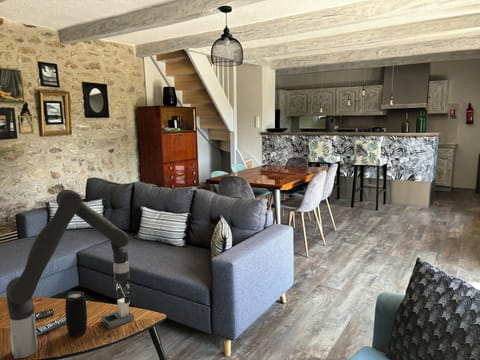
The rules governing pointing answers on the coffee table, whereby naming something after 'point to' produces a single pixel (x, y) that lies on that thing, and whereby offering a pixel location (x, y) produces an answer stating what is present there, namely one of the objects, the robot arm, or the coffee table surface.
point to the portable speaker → (76, 313)
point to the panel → (116, 319)
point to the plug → (123, 308)
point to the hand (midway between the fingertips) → (123, 300)
